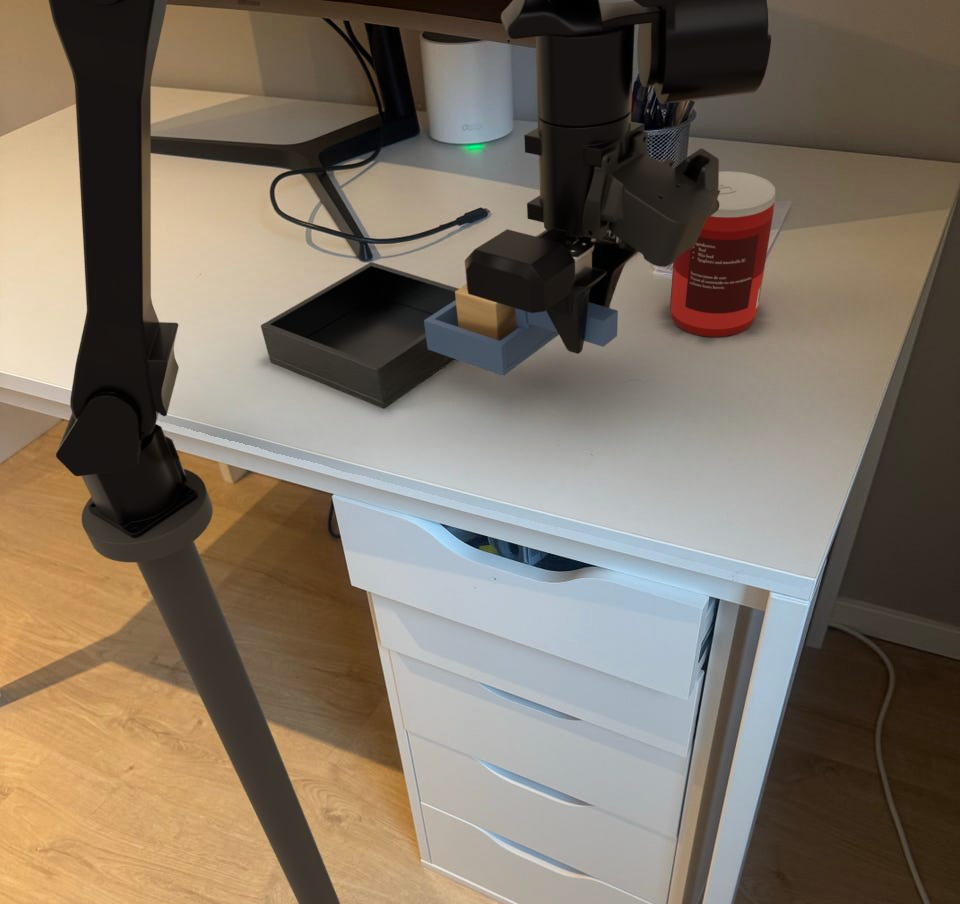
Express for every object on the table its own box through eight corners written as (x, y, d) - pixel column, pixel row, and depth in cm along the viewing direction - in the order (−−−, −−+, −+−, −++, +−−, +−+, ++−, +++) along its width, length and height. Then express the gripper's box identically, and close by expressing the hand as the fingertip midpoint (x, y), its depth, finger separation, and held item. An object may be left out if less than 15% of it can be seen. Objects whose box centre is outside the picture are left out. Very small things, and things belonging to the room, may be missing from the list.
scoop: (579, 403, 65) (580, 339, 61) (427, 349, 72) (419, 289, 68) (637, 356, 69) (640, 293, 65) (487, 309, 76) (482, 250, 72)
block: (498, 353, 70) (495, 303, 67) (459, 339, 72) (454, 291, 69) (529, 330, 72) (527, 282, 69) (490, 318, 74) (486, 270, 71)
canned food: (719, 288, 85) (734, 163, 77) (775, 322, 80) (798, 192, 72) (651, 311, 83) (659, 185, 75) (704, 347, 78) (719, 217, 70)
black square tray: (384, 408, 75) (377, 369, 72) (270, 362, 82) (260, 325, 79) (489, 334, 82) (487, 296, 79) (377, 297, 89) (371, 261, 86)
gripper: (611, 189, 47) (604, 441, 58) (776, 83, 56) (743, 318, 67) (448, 154, 52) (471, 392, 63) (624, 62, 61) (616, 284, 73)
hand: (582, 345), depth 67 cm, fingers closed on scoop, 2 cm apart
